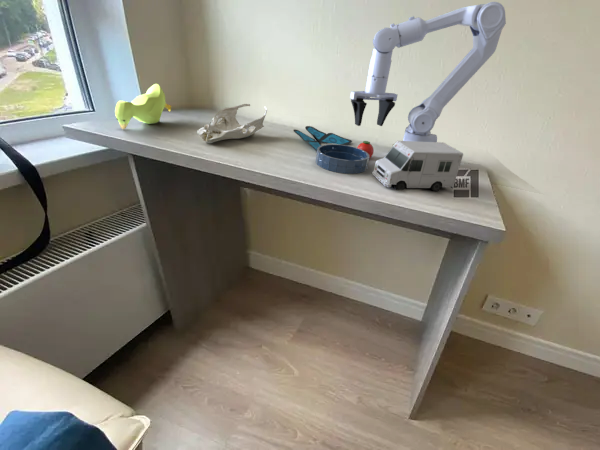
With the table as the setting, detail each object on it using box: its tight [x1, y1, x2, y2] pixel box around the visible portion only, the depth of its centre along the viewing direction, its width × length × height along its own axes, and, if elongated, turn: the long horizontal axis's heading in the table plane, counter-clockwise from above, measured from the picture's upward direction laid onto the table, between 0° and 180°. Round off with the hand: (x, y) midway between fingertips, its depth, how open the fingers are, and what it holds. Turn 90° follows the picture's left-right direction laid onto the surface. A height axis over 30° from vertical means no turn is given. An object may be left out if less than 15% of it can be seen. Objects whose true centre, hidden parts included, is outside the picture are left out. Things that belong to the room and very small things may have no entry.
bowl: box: [315, 144, 370, 175], centre depth 101 cm, size 14×14×4 cm
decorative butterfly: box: [293, 125, 353, 152], centre depth 117 cm, size 20×14×3 cm
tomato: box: [356, 140, 375, 159], centre depth 108 cm, size 5×5×5 cm
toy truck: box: [371, 140, 464, 192], centre depth 92 cm, size 13×20×10 cm, turn 90°
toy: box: [114, 83, 172, 130], centre depth 117 cm, size 6×17×20 cm
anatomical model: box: [196, 103, 268, 144], centre depth 114 cm, size 15×9×25 cm
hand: (368, 125), depth 110 cm, fingers open, 7 cm apart
